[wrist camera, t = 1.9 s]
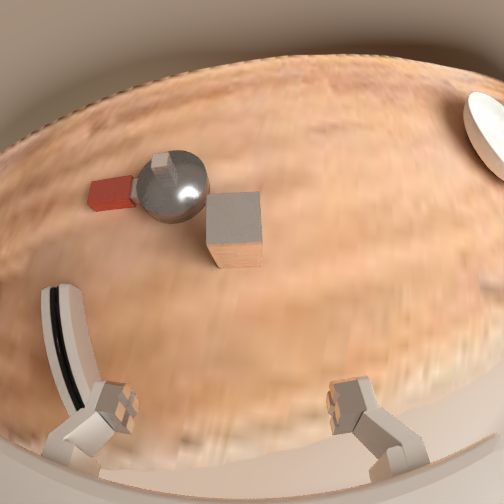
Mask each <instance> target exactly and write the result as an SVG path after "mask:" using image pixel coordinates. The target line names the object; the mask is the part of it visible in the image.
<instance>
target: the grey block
mask: <svg viewBox="0 0 504 504" xmlns="http://www.w3.org/2000/svg"><path fill="white" fill-rule="evenodd" d="M206 246H207V247H208V249H209V251H210V253H211V255H212V256H213V258H214V260H215V262H216V264H217V266H218V267H219V268H239V267H260V266H261V257H262V226H261V209H260V193H259V192H239V193H222V194H207V201H206Z"/></svg>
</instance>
